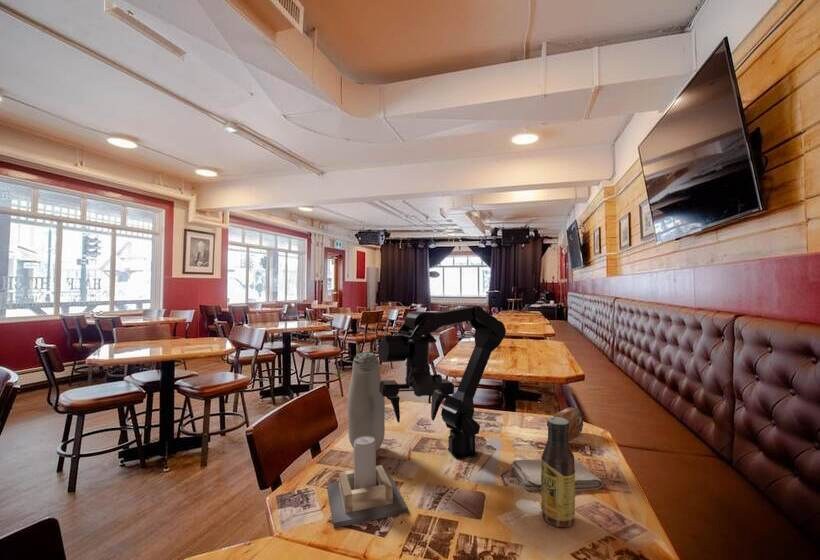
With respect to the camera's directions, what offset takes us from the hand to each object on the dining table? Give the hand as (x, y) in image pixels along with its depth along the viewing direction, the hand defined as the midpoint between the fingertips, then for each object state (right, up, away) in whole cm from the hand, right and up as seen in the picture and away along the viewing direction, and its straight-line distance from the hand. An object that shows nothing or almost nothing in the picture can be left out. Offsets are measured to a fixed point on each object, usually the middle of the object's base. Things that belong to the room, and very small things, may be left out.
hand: (415, 421), depth 96 cm
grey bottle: (-14, -12, +9) cm, 21 cm away
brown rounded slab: (+46, -12, +16) cm, 50 cm away
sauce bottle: (+28, -11, -22) cm, 38 cm away
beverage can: (-11, -11, -14) cm, 21 cm away
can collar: (-11, -12, -14) cm, 22 cm away
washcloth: (+33, -12, -6) cm, 36 cm away
